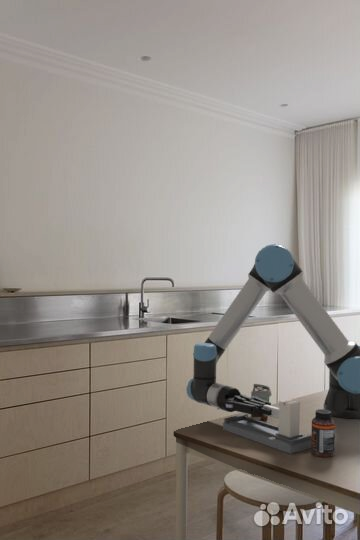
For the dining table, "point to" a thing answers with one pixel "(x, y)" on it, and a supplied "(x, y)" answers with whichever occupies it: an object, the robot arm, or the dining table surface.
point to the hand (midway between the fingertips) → (282, 414)
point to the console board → (265, 433)
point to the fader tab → (289, 419)
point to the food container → (261, 393)
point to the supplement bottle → (323, 434)
